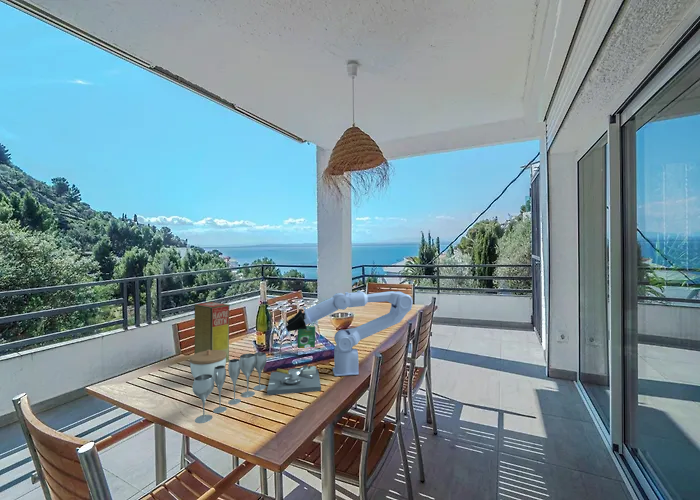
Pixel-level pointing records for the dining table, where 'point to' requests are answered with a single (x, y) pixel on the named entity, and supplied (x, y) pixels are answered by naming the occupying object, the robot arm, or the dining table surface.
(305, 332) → the coffee box
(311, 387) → the levelling stand
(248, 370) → the goblet set
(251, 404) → the dining table surface
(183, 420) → the dining table surface
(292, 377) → the capstan
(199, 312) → the food packaging
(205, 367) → the lidded bowl
